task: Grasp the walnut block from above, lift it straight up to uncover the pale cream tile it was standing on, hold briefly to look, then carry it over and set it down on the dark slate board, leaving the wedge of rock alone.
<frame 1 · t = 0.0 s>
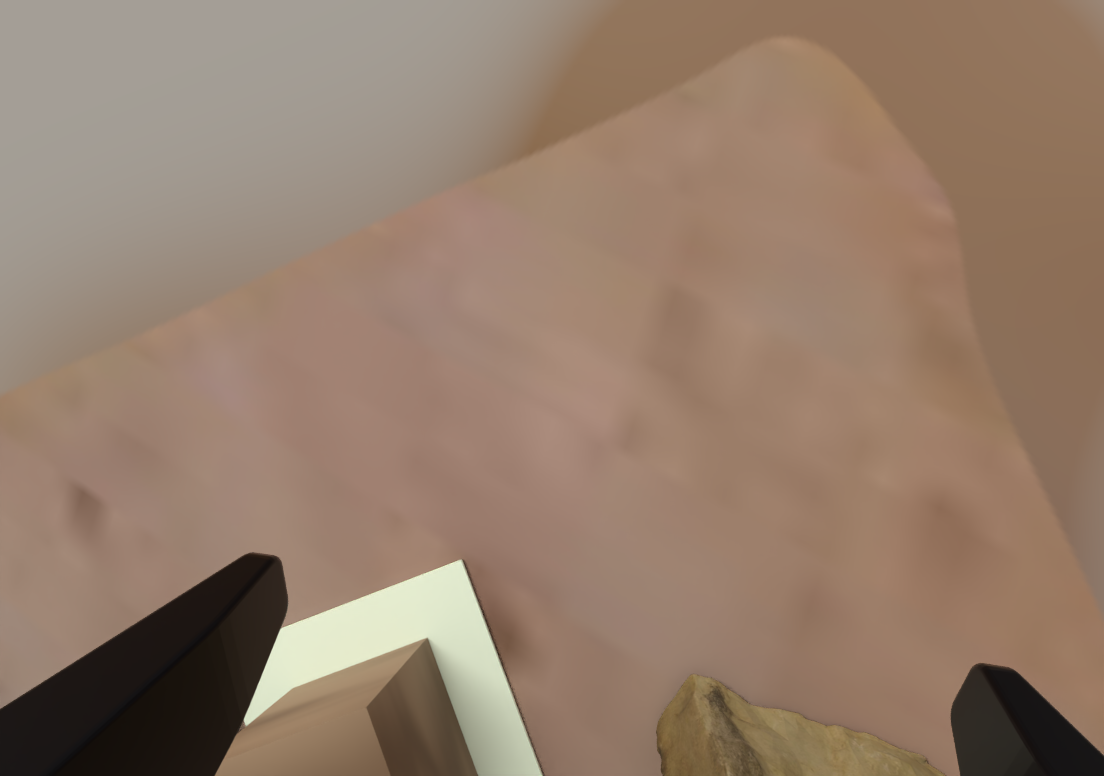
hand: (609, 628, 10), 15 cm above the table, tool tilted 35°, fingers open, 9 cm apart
block: (385, 734, 25), resting on pale cream tile
pale cream tile: (386, 732, 25), on the table
rock: (821, 772, 24), on the table
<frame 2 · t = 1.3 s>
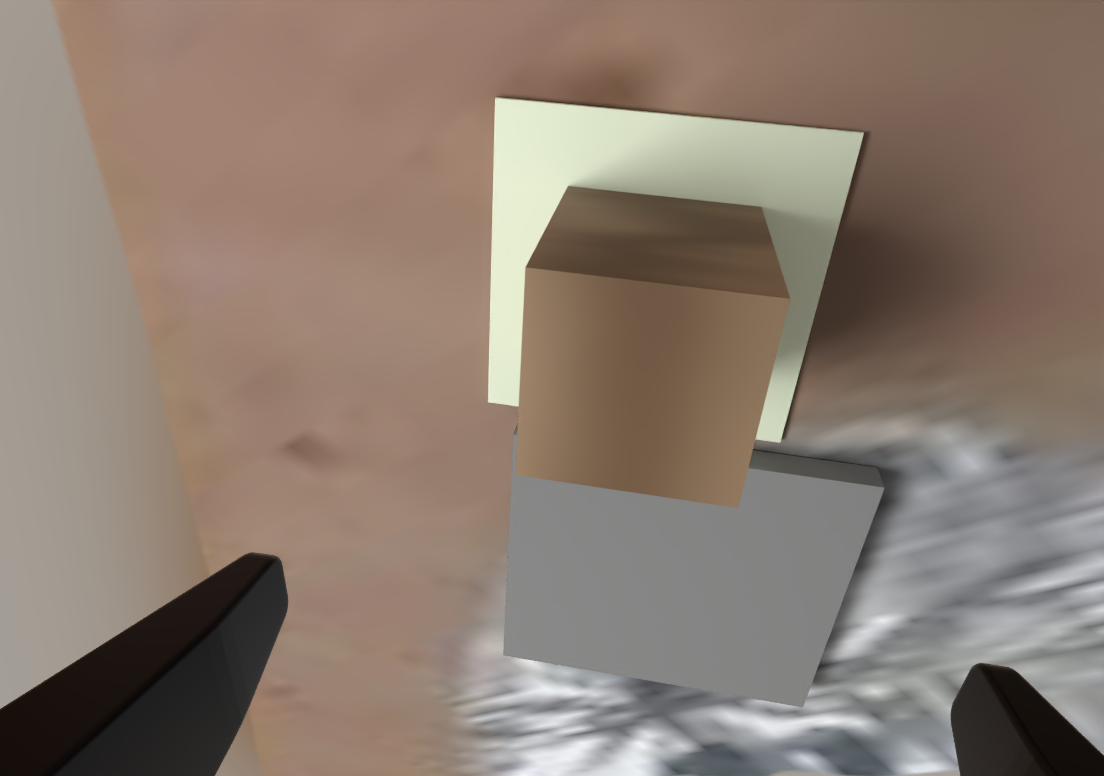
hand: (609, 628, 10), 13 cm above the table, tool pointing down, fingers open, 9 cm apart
block: (650, 286, 20), resting on pale cream tile
pale cream tile: (650, 283, 20), on the table
slate board: (670, 561, 25), on the table
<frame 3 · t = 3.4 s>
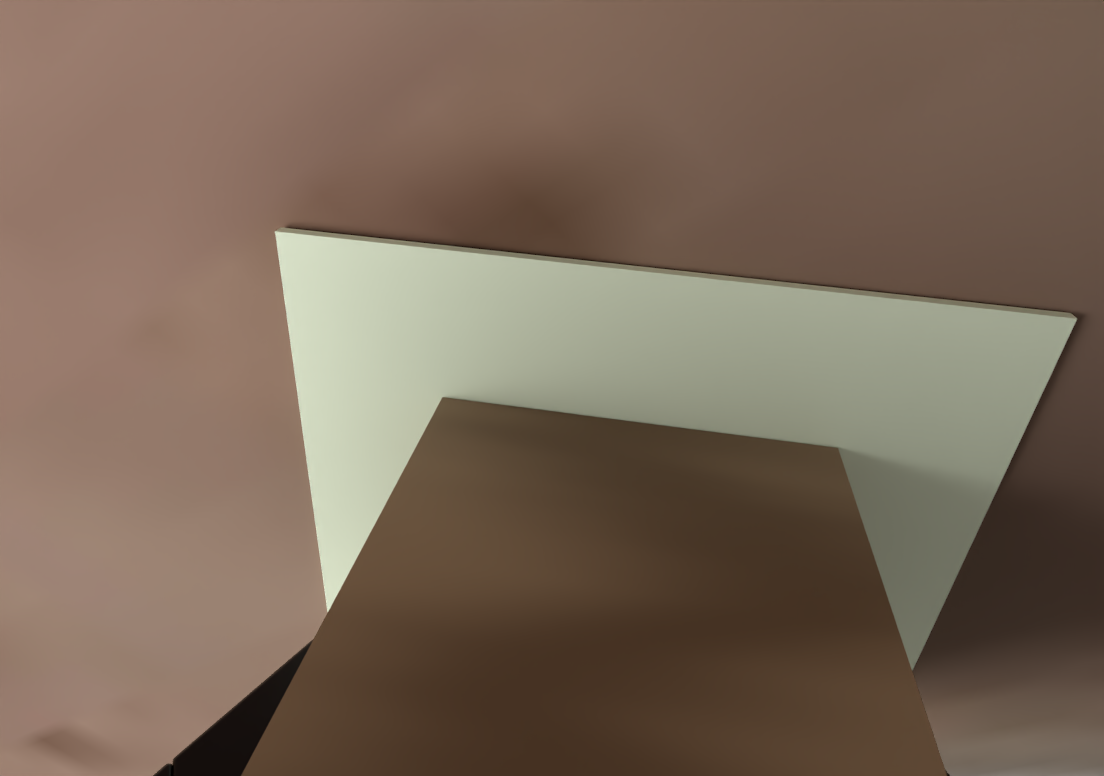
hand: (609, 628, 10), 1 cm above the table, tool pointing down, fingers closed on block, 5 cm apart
block: (614, 567, 11), resting on pale cream tile, touching gripper
pale cream tile: (615, 558, 11), on the table
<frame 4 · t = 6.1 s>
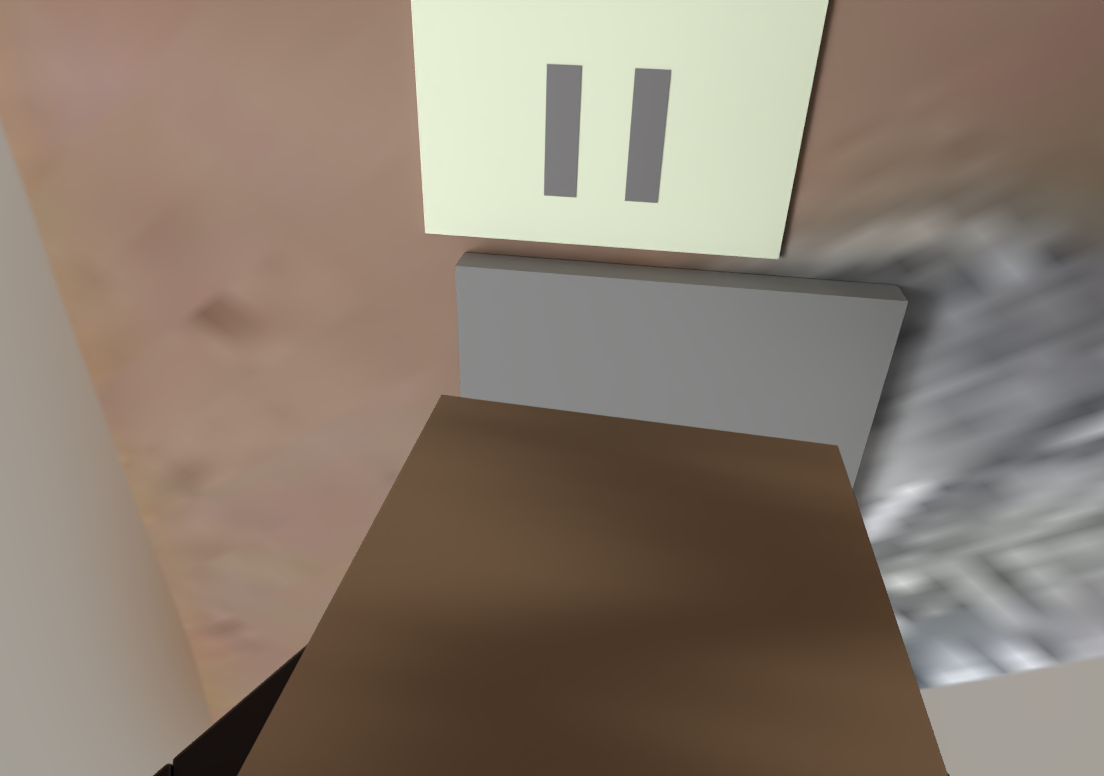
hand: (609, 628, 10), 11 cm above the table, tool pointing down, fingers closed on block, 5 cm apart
block: (614, 565, 11), point 10 cm above the table, touching gripper
pale cream tile: (609, 51, 17), on the table
slate board: (655, 430, 21), on the table
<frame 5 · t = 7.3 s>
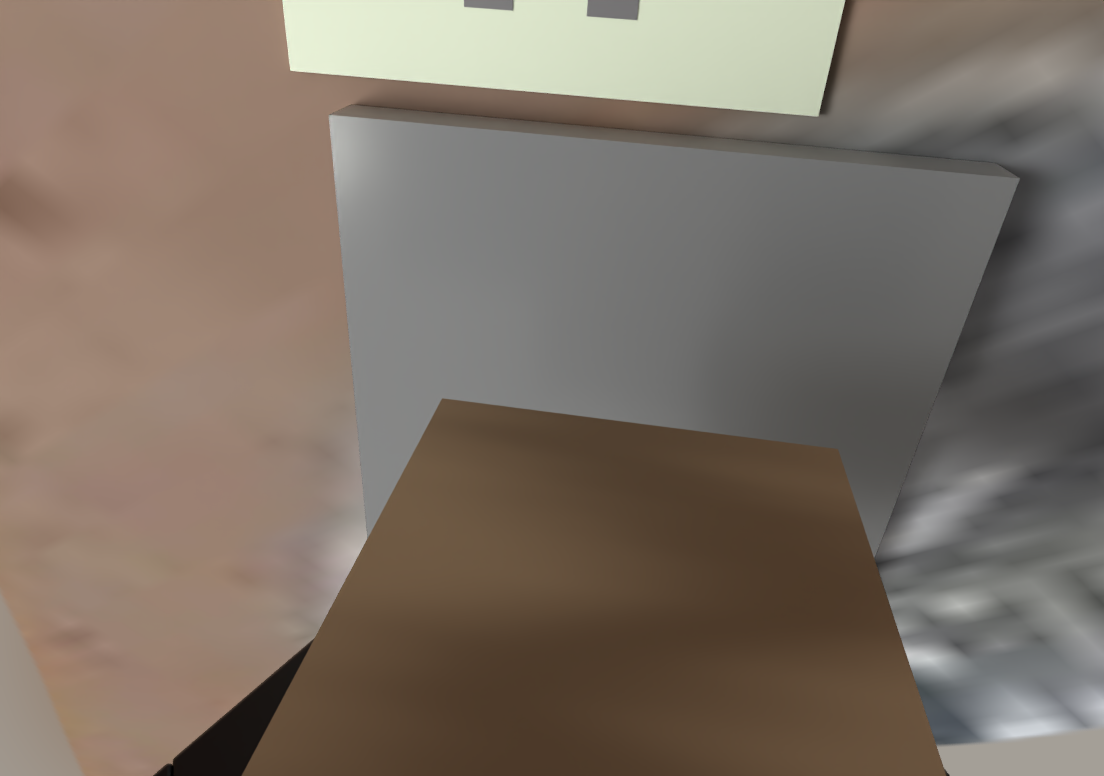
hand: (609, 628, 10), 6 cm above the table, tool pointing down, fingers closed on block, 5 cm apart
block: (614, 568, 11), point 5 cm above the table, touching gripper
slate board: (627, 383, 15), on the table
when the fingers open (4 cm above the table, at t = 8.6 s): block drops 2 cm, resting on slate board.
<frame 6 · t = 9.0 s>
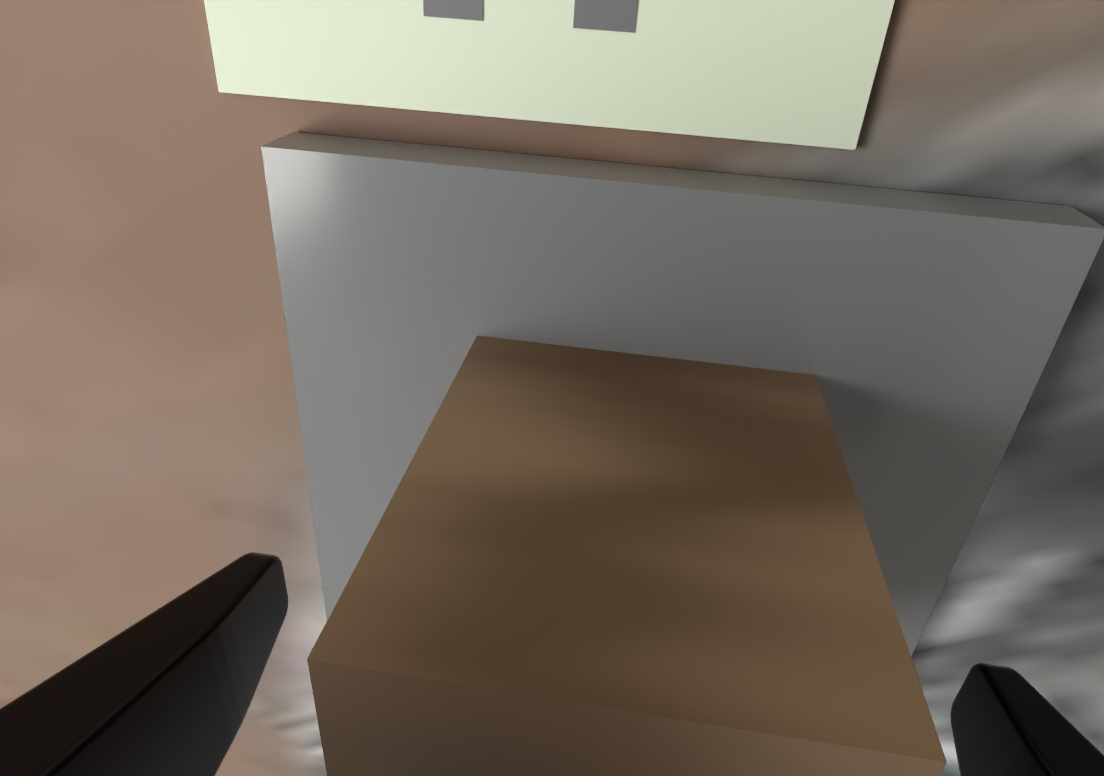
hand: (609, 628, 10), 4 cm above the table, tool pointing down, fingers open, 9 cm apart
block: (624, 488, 12), point 1 cm above the table, touching slate board
slate board: (624, 453, 13), on the table
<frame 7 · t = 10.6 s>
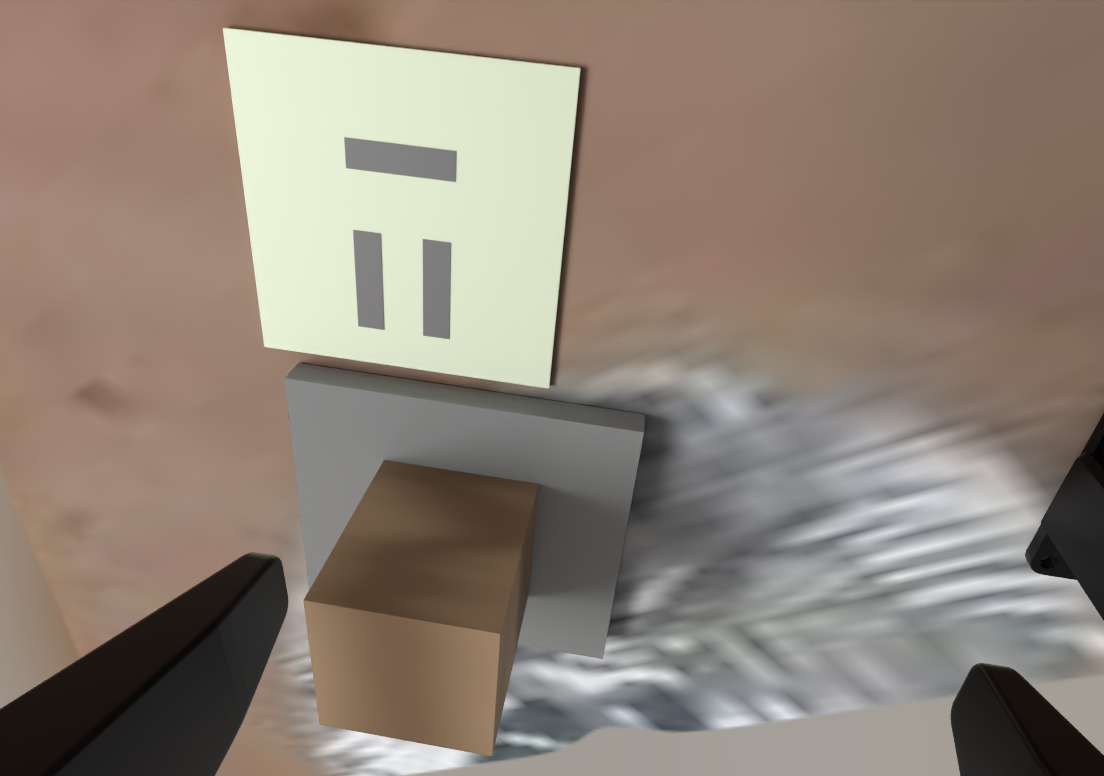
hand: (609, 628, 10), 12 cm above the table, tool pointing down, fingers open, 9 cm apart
block: (459, 531, 25), point 1 cm above the table, touching slate board
pale cream tile: (403, 224, 20), on the table
slate board: (464, 511, 25), on the table
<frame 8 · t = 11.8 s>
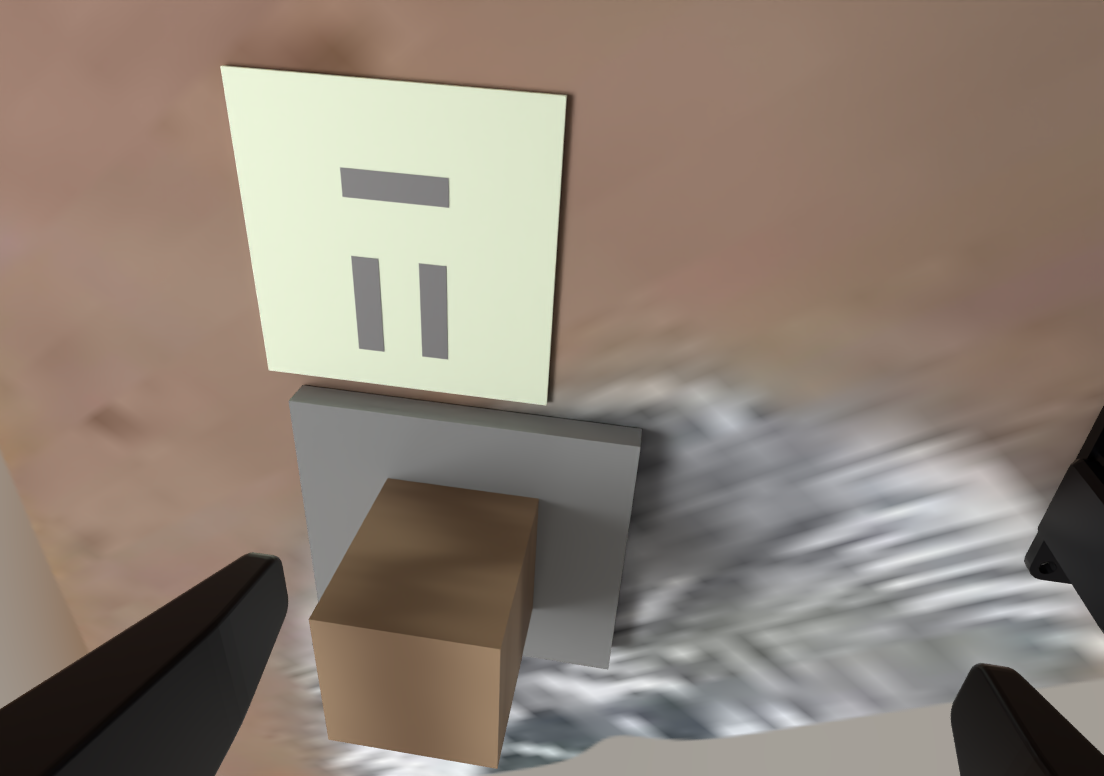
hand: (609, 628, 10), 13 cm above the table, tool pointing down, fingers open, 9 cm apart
block: (463, 546, 25), point 1 cm above the table, touching slate board
pale cream tile: (399, 249, 21), on the table
slate board: (468, 526, 26), on the table
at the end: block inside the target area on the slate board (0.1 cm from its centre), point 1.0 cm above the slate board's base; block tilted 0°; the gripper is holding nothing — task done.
